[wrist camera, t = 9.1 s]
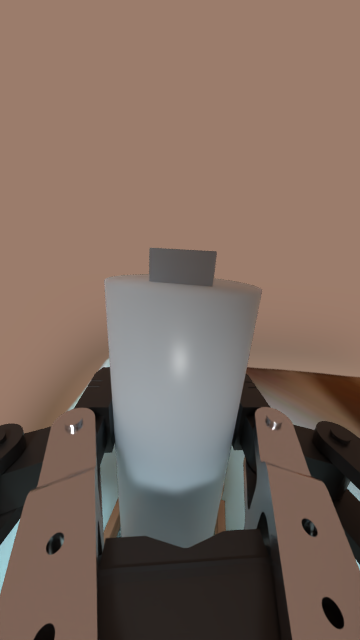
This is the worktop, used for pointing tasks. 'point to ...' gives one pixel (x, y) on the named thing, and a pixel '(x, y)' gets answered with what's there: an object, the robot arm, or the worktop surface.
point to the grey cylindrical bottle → (176, 390)
